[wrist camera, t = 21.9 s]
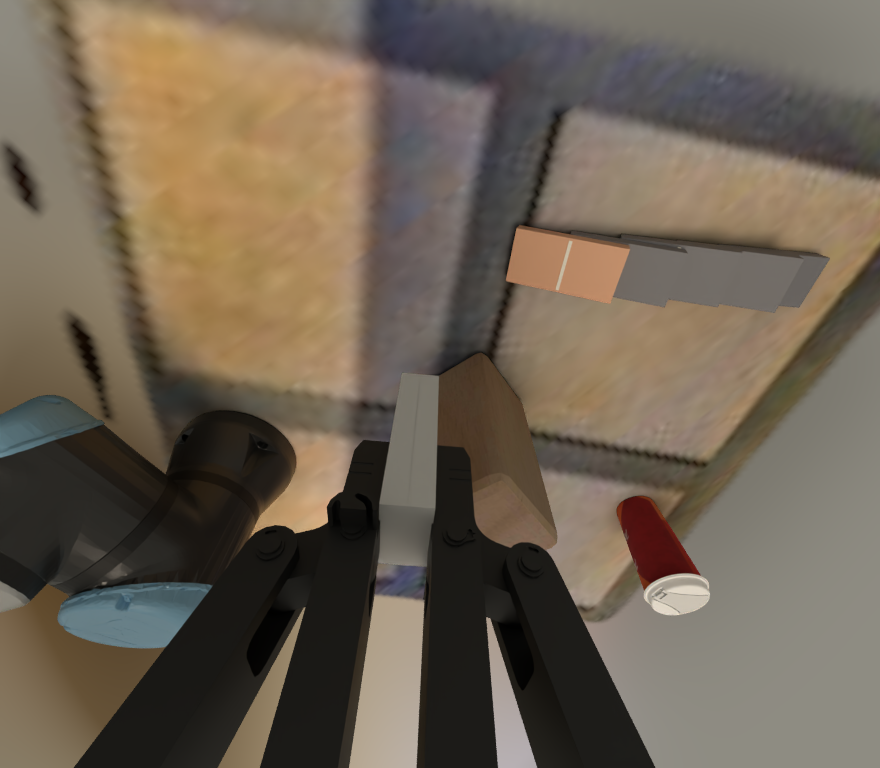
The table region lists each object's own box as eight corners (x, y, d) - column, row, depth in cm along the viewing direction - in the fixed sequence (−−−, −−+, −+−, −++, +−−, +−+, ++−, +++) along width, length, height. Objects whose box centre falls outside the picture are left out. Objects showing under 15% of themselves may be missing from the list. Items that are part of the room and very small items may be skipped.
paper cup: (599, 516, 61) (635, 610, 50) (629, 485, 57) (677, 578, 46) (640, 529, 63) (685, 622, 51) (673, 499, 59) (730, 592, 47)
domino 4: (703, 298, 40) (799, 307, 40) (727, 248, 37) (830, 258, 37) (694, 292, 41) (787, 301, 41) (717, 243, 38) (816, 253, 39)
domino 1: (556, 286, 39) (664, 307, 37) (570, 234, 36) (688, 253, 34) (558, 281, 41) (662, 301, 38) (571, 230, 38) (685, 249, 35)
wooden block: (412, 387, 48) (395, 528, 32) (482, 346, 45) (504, 479, 28) (458, 438, 53) (464, 585, 36) (524, 404, 49) (565, 548, 33)
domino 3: (659, 294, 39) (774, 312, 37) (679, 243, 37) (804, 259, 34) (657, 289, 41) (768, 306, 38) (676, 239, 38) (797, 254, 36)
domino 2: (606, 289, 39) (717, 307, 37) (621, 237, 37) (743, 253, 34) (606, 284, 41) (713, 301, 38) (621, 233, 38) (738, 248, 36)
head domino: (519, 224, 38) (629, 245, 35) (509, 276, 40) (609, 297, 38) (516, 228, 36) (630, 249, 34) (505, 280, 39) (610, 303, 37)
